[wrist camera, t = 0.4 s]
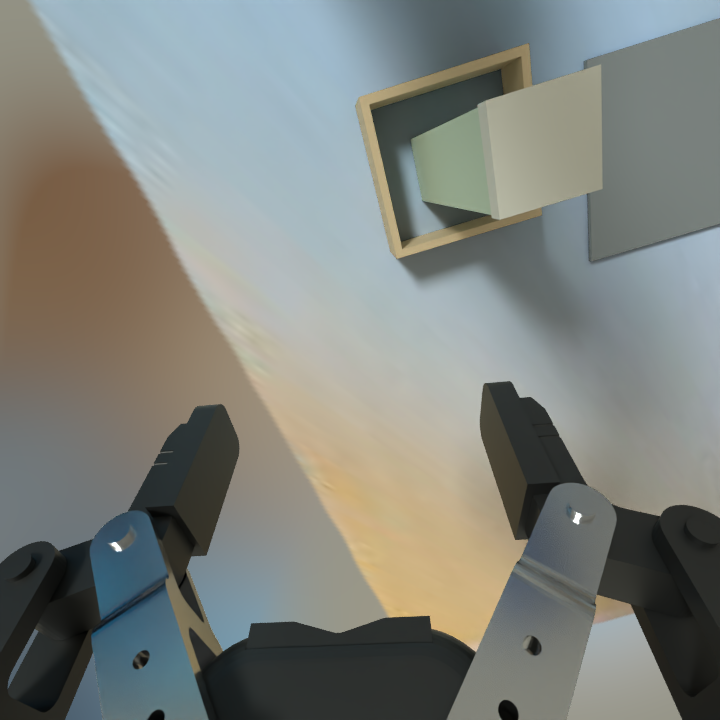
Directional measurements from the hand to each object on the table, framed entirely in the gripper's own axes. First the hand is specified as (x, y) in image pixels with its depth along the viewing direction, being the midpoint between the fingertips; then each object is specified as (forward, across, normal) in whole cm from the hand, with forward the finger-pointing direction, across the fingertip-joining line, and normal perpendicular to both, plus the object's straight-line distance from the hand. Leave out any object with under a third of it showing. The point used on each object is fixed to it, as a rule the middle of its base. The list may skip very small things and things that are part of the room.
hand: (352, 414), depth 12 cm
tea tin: (+27, -7, -2) cm, 28 cm away
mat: (+30, -28, -1) cm, 40 cm away
